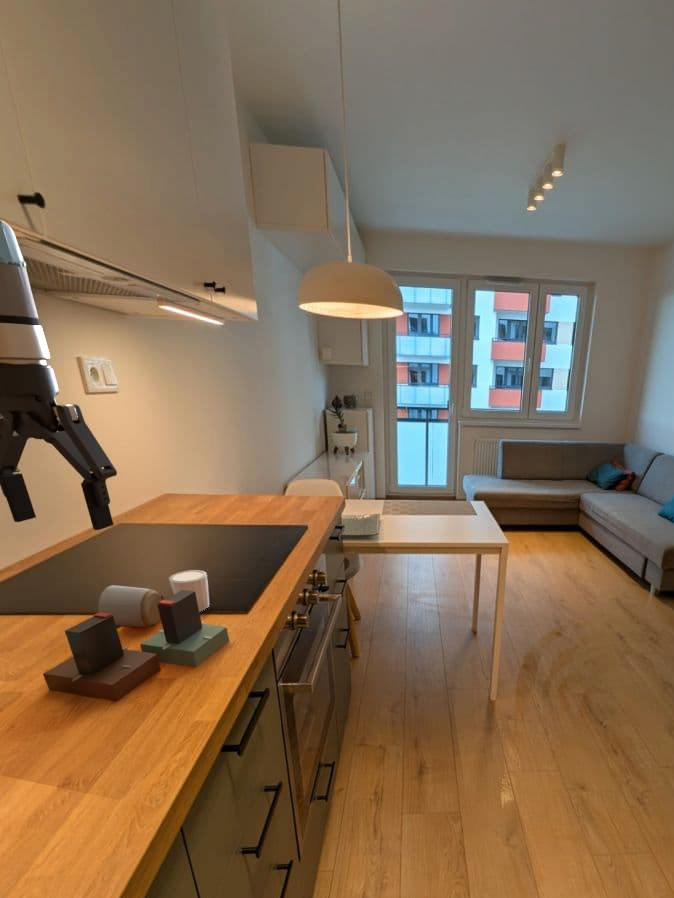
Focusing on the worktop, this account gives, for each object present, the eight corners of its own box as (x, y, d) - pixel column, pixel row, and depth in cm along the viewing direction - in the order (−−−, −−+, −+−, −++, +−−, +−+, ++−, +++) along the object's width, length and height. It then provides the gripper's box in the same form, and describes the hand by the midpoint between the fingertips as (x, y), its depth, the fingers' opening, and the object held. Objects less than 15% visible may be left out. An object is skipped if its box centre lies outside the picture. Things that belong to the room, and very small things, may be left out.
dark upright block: (190, 625, 90) (181, 588, 87) (202, 627, 89) (194, 589, 86) (166, 642, 84) (156, 602, 81) (179, 643, 84) (170, 604, 81)
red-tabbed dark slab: (92, 674, 75) (78, 631, 72) (78, 672, 76) (63, 629, 73) (124, 654, 80) (112, 613, 77) (111, 652, 81) (99, 611, 78)
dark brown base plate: (45, 692, 76) (38, 674, 75) (101, 658, 85) (96, 641, 84) (113, 704, 74) (108, 686, 72) (163, 667, 83) (159, 651, 81)
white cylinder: (171, 606, 103) (164, 574, 100) (206, 597, 108) (200, 567, 105) (181, 618, 99) (174, 585, 96) (217, 608, 103) (211, 576, 100)
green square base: (140, 661, 84) (136, 644, 83) (182, 633, 93) (179, 617, 92) (194, 669, 83) (191, 652, 81) (232, 639, 92) (229, 624, 90)
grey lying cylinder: (149, 634, 93) (140, 595, 90) (103, 633, 92) (92, 594, 89) (175, 609, 102) (168, 574, 99) (134, 609, 102) (125, 573, 99)
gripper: (-96, 359, 64) (-33, 523, 73) (71, 364, 59) (116, 538, 68) (-32, 360, 70) (18, 510, 79) (122, 365, 66) (157, 523, 75)
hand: (64, 523), depth 74 cm, fingers open, 13 cm apart
